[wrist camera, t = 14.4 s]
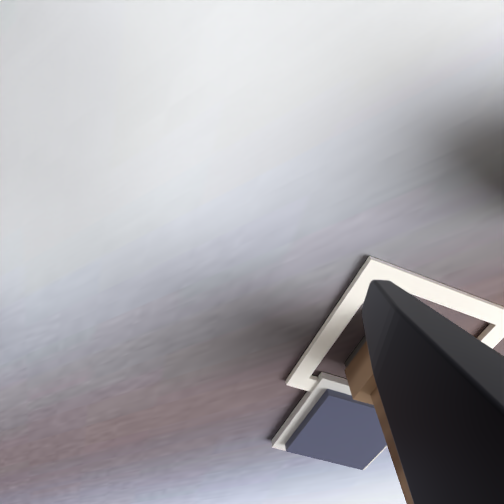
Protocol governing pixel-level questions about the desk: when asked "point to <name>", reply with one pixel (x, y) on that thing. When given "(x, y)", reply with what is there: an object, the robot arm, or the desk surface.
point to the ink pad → (332, 426)
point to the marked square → (375, 269)
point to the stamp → (373, 402)
